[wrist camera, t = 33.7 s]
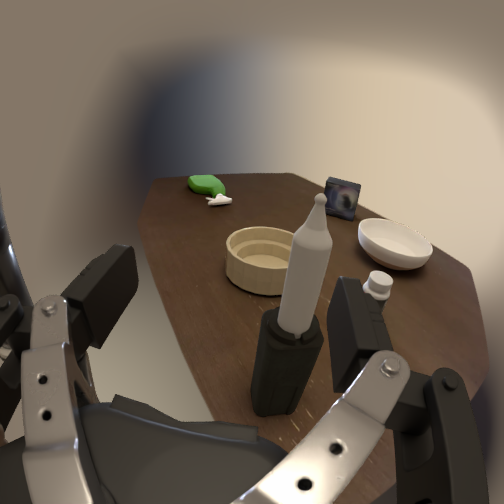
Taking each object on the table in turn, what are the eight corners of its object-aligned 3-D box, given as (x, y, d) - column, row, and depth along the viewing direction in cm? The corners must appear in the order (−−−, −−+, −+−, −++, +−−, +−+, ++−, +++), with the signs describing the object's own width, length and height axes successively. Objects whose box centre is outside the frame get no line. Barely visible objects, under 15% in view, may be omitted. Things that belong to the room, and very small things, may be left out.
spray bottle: (214, 181, 103) (239, 206, 84) (185, 183, 98) (204, 209, 80) (214, 174, 101) (240, 196, 83) (185, 176, 97) (204, 199, 78)
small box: (319, 213, 84) (325, 180, 79) (323, 206, 90) (328, 176, 84) (352, 222, 81) (360, 189, 76) (354, 215, 87) (361, 184, 81)
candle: (254, 417, 29) (295, 205, 16) (249, 383, 33) (277, 179, 20) (297, 413, 29) (371, 211, 17) (289, 380, 34) (341, 185, 21)
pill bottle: (349, 321, 44) (365, 280, 40) (355, 305, 48) (369, 266, 44) (375, 330, 42) (394, 290, 38) (379, 313, 46) (395, 275, 42)
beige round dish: (217, 290, 48) (218, 261, 45) (232, 248, 62) (234, 222, 59) (306, 302, 48) (313, 273, 45) (302, 257, 61) (307, 232, 58)
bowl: (365, 232, 76) (370, 212, 73) (427, 257, 66) (434, 237, 63) (341, 257, 62) (348, 233, 59) (419, 291, 53) (430, 267, 49)
